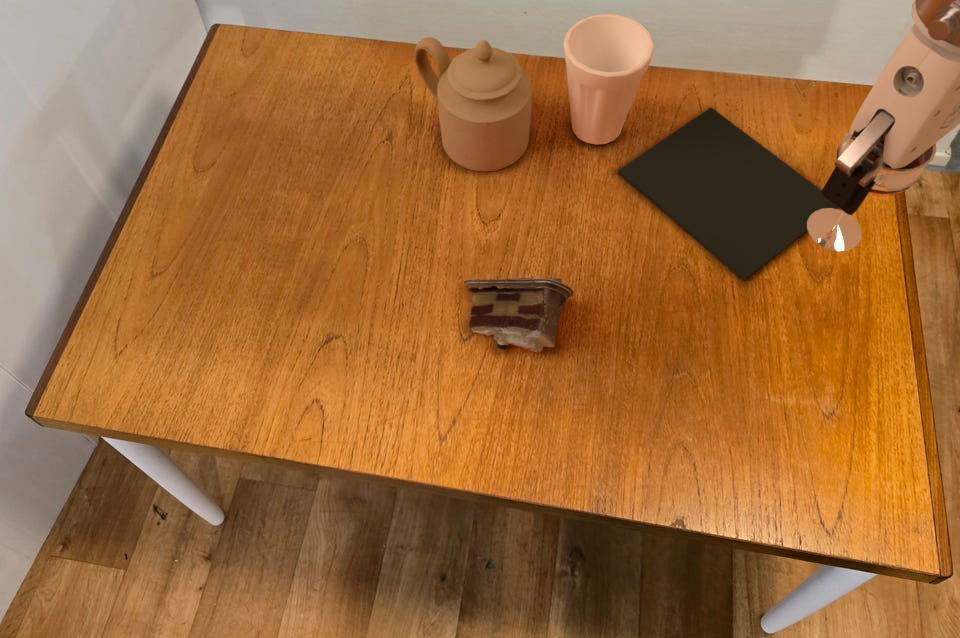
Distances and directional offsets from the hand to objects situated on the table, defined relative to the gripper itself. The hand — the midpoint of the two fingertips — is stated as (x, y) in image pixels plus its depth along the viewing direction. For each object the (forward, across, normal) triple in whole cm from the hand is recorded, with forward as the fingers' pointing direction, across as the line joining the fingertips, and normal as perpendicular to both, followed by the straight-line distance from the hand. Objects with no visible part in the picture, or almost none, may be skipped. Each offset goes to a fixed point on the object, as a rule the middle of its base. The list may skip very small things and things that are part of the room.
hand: (866, 179), depth 64 cm
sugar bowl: (+20, -12, +40) cm, 47 cm away
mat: (+20, +6, +14) cm, 25 cm away
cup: (+20, +1, +32) cm, 37 cm away
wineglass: (+7, 0, 0) cm, 7 cm away
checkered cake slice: (+20, -25, +16) cm, 36 cm away
